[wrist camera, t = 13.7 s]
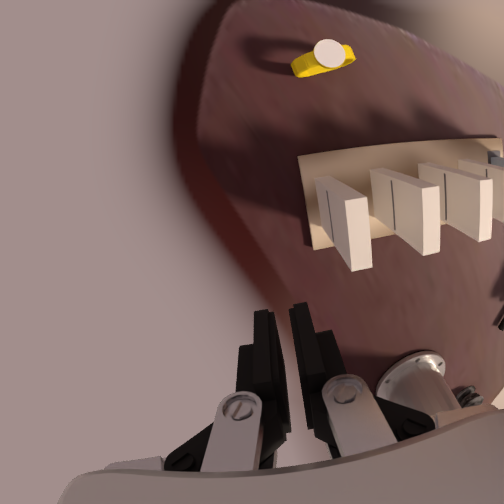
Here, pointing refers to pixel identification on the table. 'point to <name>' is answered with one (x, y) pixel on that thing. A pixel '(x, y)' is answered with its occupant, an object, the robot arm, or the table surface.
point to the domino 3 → (462, 198)
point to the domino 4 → (500, 175)
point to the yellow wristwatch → (323, 59)
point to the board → (383, 156)
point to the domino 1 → (345, 221)
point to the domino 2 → (408, 208)
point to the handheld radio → (501, 325)
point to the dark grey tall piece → (469, 397)
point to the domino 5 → (497, 161)
